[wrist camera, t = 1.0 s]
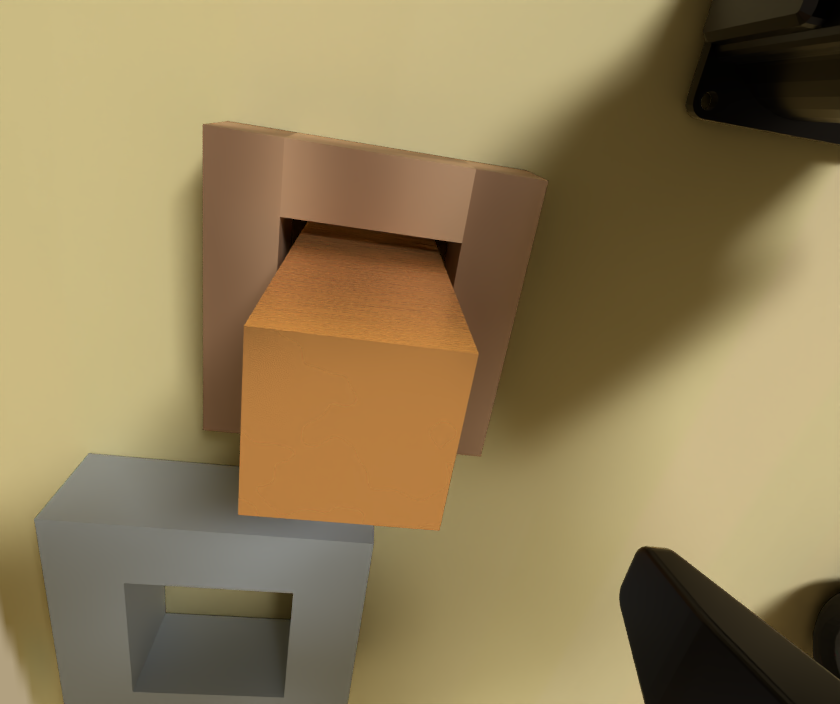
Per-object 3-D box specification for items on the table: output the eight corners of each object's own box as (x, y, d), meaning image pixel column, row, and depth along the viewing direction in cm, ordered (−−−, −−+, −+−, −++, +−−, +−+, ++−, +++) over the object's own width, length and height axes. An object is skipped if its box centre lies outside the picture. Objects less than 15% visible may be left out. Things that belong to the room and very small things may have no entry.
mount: (525, 170, 17) (548, 180, 15) (469, 417, 21) (480, 456, 18) (228, 121, 16) (202, 124, 14) (223, 391, 19) (203, 430, 17)
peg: (433, 237, 18) (478, 353, 10) (414, 349, 19) (439, 530, 11) (308, 219, 17) (243, 326, 9) (299, 335, 19) (237, 514, 11)
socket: (374, 478, 21) (373, 544, 18) (346, 660, 26) (341, 739, 23) (88, 453, 20) (34, 518, 17) (109, 649, 24) (68, 731, 21)
